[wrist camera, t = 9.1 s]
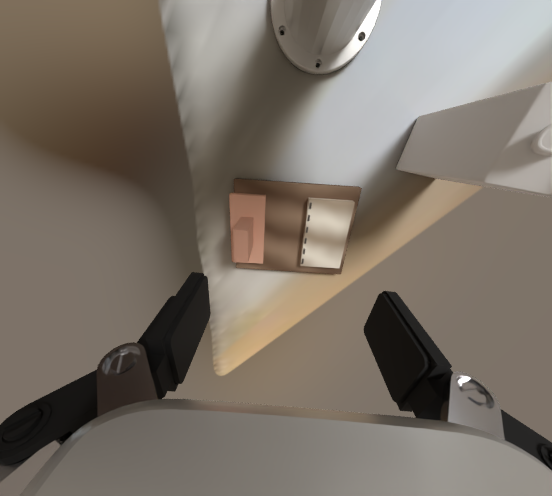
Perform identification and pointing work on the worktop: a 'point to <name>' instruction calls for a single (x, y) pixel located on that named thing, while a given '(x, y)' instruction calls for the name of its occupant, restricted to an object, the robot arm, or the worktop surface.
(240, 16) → the worktop surface
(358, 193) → the board
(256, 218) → the stub
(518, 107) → the milk carton
